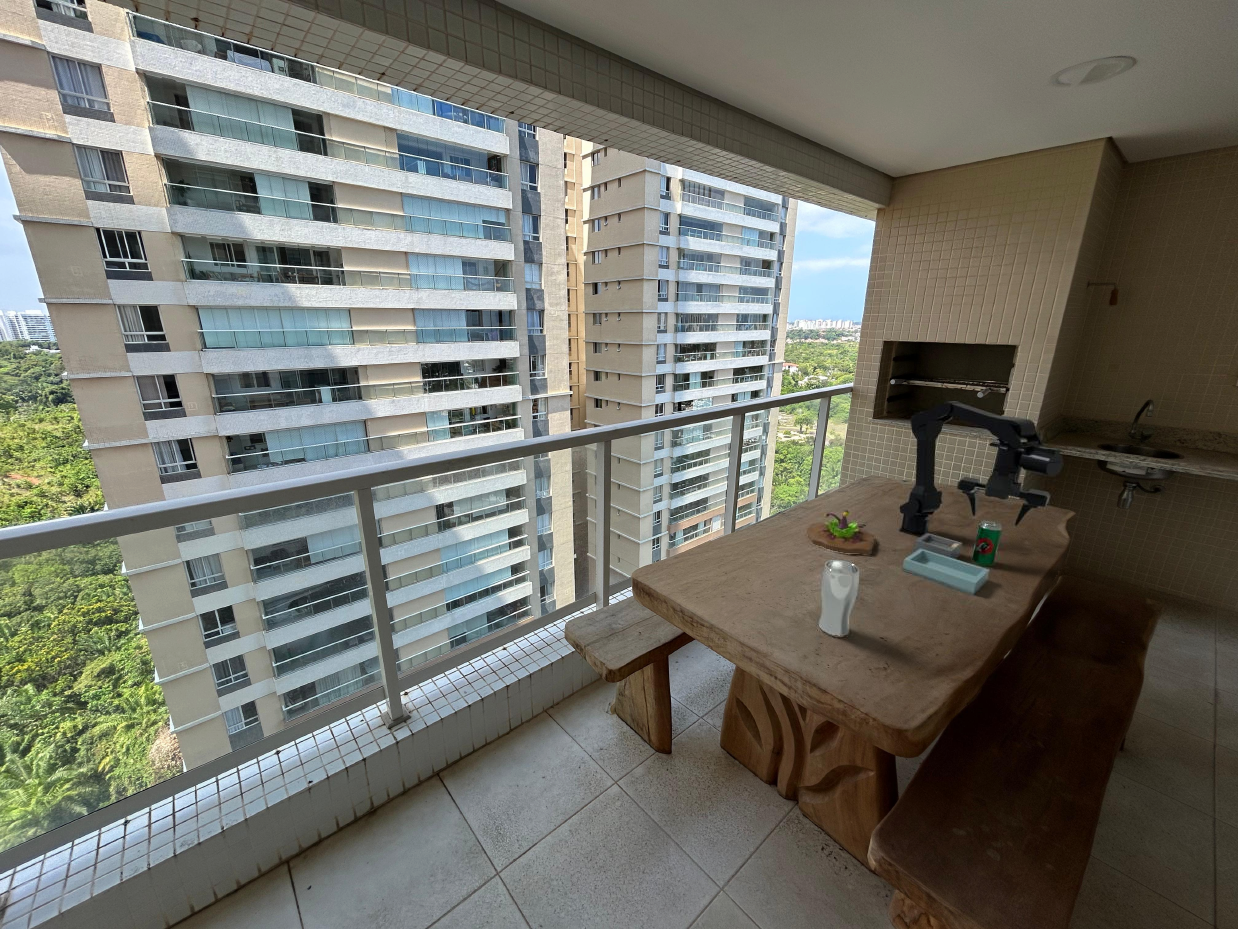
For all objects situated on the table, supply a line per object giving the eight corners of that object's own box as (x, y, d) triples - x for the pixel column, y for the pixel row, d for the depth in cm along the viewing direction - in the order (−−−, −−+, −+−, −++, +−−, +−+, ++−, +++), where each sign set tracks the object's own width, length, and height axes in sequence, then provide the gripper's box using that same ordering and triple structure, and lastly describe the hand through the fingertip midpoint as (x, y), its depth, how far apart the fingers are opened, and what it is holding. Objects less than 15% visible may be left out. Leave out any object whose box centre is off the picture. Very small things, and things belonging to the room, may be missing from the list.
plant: (805, 549, 138) (809, 514, 135) (806, 526, 155) (810, 495, 152) (880, 560, 130) (886, 524, 127) (872, 535, 147) (877, 502, 145)
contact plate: (920, 550, 133) (921, 545, 133) (929, 544, 137) (929, 540, 137) (945, 557, 129) (946, 553, 128) (953, 552, 132) (954, 547, 132)
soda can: (997, 568, 125) (1007, 527, 122) (977, 566, 126) (985, 526, 123) (987, 559, 130) (996, 520, 127) (967, 558, 131) (975, 519, 128)
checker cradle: (913, 553, 134) (915, 539, 133) (925, 545, 139) (927, 531, 138) (948, 564, 127) (951, 550, 126) (959, 555, 132) (962, 541, 131)
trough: (902, 570, 124) (904, 559, 123) (918, 559, 130) (920, 548, 129) (972, 595, 112) (975, 583, 111) (986, 581, 118) (989, 569, 117)
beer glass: (810, 620, 102) (817, 559, 98) (839, 619, 102) (848, 558, 98) (826, 640, 95) (835, 575, 91) (858, 638, 95) (867, 574, 92)
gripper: (957, 464, 122) (945, 517, 126) (1050, 479, 109) (1034, 539, 113) (968, 457, 129) (957, 508, 133) (1056, 471, 116) (1041, 527, 120)
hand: (994, 520), depth 125 cm, fingers open, 9 cm apart
